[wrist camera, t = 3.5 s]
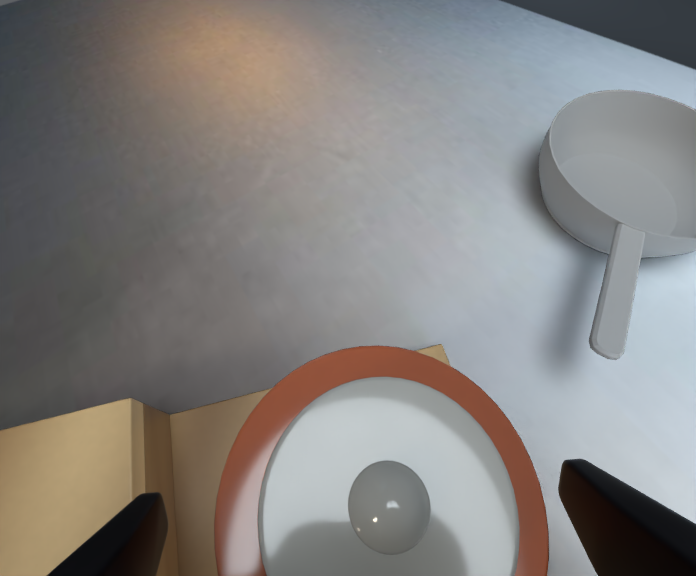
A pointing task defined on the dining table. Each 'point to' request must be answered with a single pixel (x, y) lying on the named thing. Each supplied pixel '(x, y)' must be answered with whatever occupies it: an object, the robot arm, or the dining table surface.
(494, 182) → the dining table surface
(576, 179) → the saucepan
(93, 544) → the robot arm
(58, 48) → the dining table surface
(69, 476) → the stand
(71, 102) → the dining table surface
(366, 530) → the pepper mill
